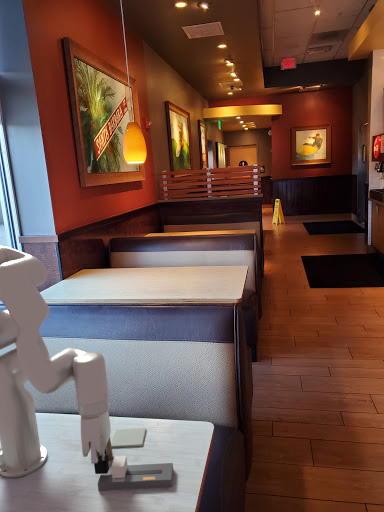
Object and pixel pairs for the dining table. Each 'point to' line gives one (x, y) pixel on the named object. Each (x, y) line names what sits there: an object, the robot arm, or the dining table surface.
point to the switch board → (139, 477)
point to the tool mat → (128, 437)
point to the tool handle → (109, 450)
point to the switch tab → (119, 467)
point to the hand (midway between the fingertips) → (102, 471)
